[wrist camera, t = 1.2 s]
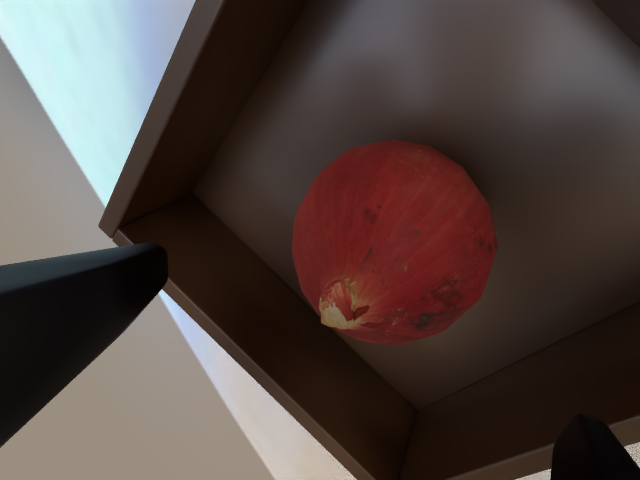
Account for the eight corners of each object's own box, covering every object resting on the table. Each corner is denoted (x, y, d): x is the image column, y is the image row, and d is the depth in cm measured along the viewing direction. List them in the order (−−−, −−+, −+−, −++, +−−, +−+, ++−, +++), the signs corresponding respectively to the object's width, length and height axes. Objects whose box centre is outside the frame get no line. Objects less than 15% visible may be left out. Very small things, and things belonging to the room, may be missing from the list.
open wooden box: (856, 210, 11) (1068, 316, 7) (419, 418, 20) (394, 516, 16) (417, -219, 11) (355, -377, 7) (182, 187, 20) (96, 226, 16)
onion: (539, 185, 13) (562, 328, 7) (434, 295, 17) (380, 464, 10) (392, 88, 14) (282, 133, 7) (319, 212, 17) (196, 322, 11)
